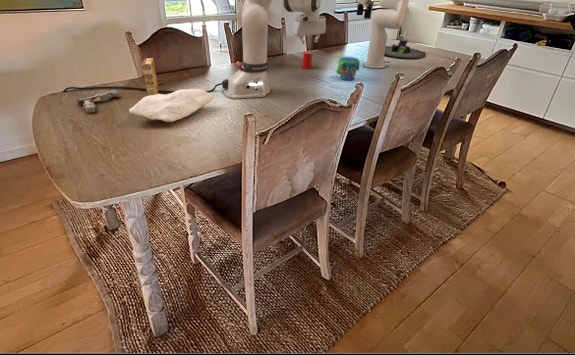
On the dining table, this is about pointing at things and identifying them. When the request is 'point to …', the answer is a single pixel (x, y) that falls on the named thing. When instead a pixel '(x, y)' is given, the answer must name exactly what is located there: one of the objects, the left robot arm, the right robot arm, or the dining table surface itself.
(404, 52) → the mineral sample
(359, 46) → the dining table surface
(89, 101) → the handgun
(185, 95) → the crumpled cloth
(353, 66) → the snack cup
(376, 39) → the right robot arm
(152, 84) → the candy box
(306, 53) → the canister
